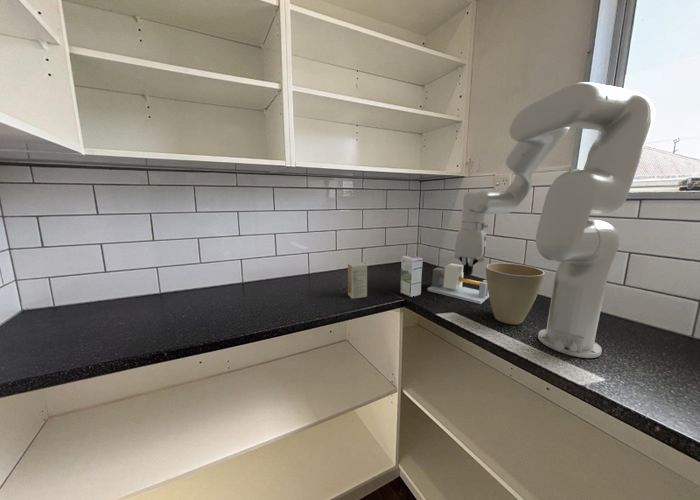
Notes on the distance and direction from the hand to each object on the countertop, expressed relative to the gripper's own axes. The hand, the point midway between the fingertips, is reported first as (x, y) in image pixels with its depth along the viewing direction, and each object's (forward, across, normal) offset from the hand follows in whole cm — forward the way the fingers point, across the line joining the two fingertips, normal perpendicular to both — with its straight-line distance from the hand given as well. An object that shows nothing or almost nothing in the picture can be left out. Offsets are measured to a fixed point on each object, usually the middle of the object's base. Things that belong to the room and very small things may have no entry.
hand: (467, 275), depth 103 cm
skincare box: (+8, +29, +30) cm, 42 cm away
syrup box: (+8, +16, +14) cm, 22 cm away
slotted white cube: (+6, +5, 0) cm, 8 cm away
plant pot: (+8, -17, +13) cm, 23 cm away
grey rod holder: (+8, +3, 0) cm, 8 cm away
